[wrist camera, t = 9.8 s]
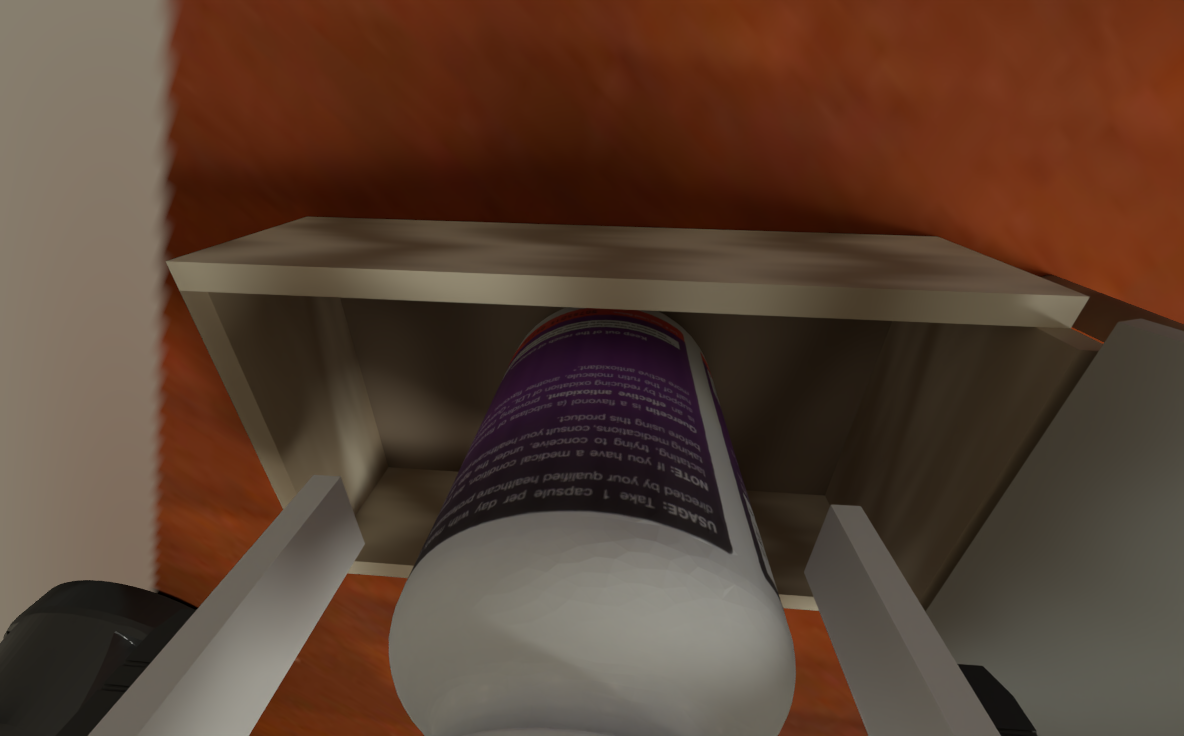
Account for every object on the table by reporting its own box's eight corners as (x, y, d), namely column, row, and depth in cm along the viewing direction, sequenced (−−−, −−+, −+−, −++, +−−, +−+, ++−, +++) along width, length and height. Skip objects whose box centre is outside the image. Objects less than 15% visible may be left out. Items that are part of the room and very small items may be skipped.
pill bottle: (476, 377, 19) (167, 896, 6) (611, 244, 15) (519, 779, 3) (609, 483, 21) (575, 1008, 9) (750, 387, 18) (1014, 1010, 5)
